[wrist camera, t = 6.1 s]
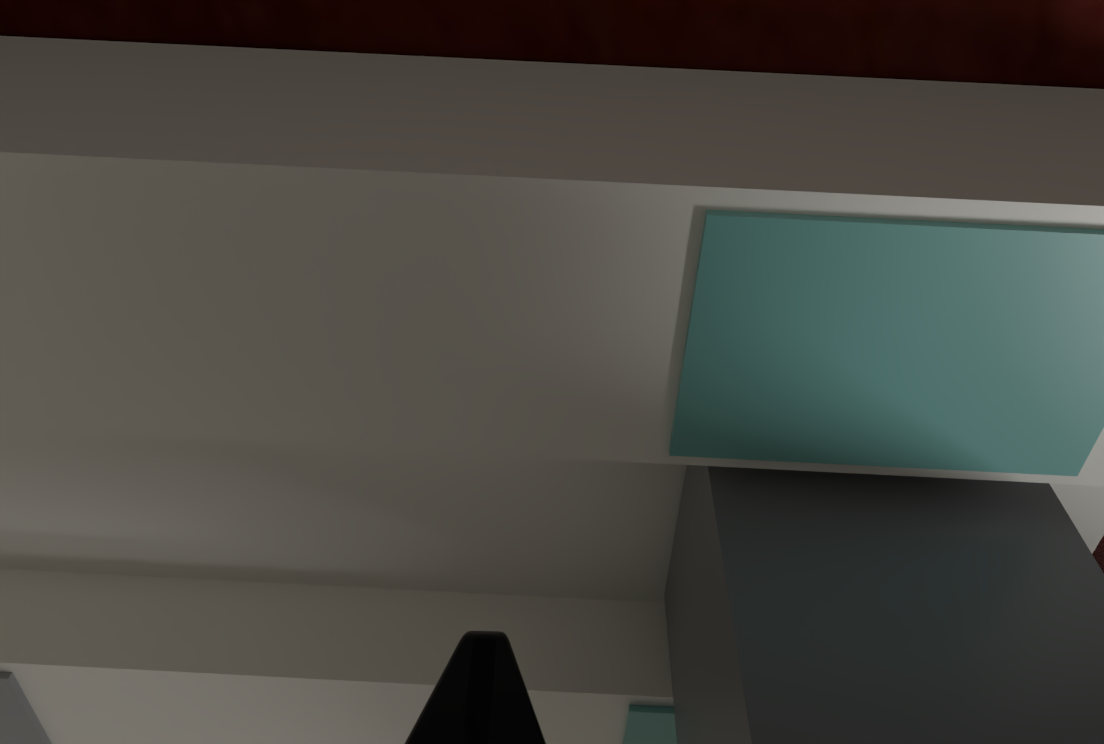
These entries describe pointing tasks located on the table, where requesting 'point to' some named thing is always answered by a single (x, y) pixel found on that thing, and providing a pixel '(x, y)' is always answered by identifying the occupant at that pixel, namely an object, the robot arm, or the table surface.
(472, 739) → the robot arm
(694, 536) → the switch tab
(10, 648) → the switch plate
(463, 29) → the table surface
